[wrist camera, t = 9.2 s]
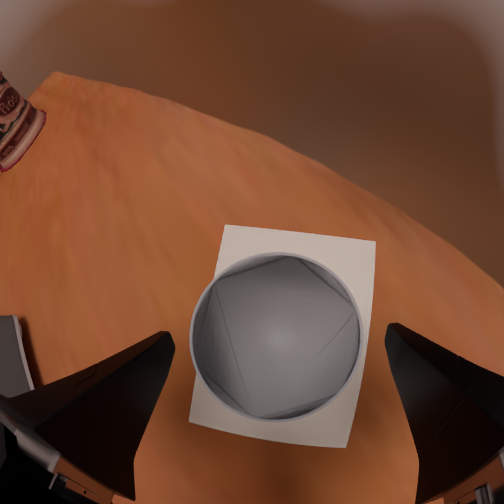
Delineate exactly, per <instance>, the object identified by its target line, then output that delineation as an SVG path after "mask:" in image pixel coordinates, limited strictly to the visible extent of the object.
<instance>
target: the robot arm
mask: <svg viewBox="0 0 504 504" xmlns="http://www.w3.org/2000/svg"><path fill="white" fill-rule="evenodd" d="M385 347H386V351H387V356H388V360H389V364H390V369H391V372H392V375H393V378H394V381H395V384H396V387H397V389H398V392H399V395H400V398H401V401H402V404H403V407H404V410H405V413H406V416H407V419H408V423H409V426H410V429H411V433H412V436H413V439H414V443H415V446H416V450H417V453H418V458H419V475H418V485H417V493H416V500H415V504H426V503H429V502H431V501H434V500H437V499H440V498H442V497H443V499H444V504H504V377H503V376H501V375H499V374H496V373H494V372H492V371H489V370H487V369H485V368H483V367H480V366H478V365H476V364H474V363H472V362H470V361H468V360H466V359H464V358H462V357H461V356H457V355H456V354H455V353H453V352H451V351H449V350H447V349H445V348H444V347H442V346H440V345H438V344H436V343H434V342H433V341H431V340H429V339H427V338H425V337H423V336H422V335H420V334H418V333H416V332H414V331H412V330H411V329H409V328H407V327H405V326H403V325H401V324H399V323H390V324H389V325H388V327H387V331H386V335H385ZM174 353H175V344H174V341H173V339H172V336H171V334H170V332H168V331H160V332H158V333H156V334H154V335H152V336H150V337H148V338H146V339H144V340H142V341H140V342H138V343H136V344H134V345H133V346H131V347H129V348H127V349H125V350H123V351H121V352H119V353H117V354H115V355H113V356H111V357H109V358H107V359H105V360H103V361H101V362H99V363H98V364H97V363H96V364H94V365H92V366H90V367H88V368H86V369H84V370H82V371H79V372H77V373H75V374H72V375H70V376H67V377H65V378H62V379H60V380H57V381H54V382H52V383H49V384H47V385H44V386H41V387H39V388H36V389H33V390H31V391H28V392H25V393H23V394H20V395H17V396H14V397H10V398H9V397H5V396H4V395H2V394H0V413H1V414H2V415H3V416H4V417H5V418H6V419H7V420H8V421H9V422H10V423H11V424H12V425H13V426H14V427H15V428H16V431H15V432H14V433H12V432H11V431H10V430H9V429H8V428H7V427H6V426H5V425H4V424H3V423H1V422H0V504H113V503H112V498H113V496H114V494H116V495H119V496H121V497H124V498H126V499H129V500H132V501H135V498H136V497H135V483H134V457H135V454H136V451H137V449H138V446H139V444H140V441H141V439H142V436H143V434H144V432H145V429H146V427H147V424H148V422H149V419H150V417H151V415H152V412H153V410H154V407H155V405H156V403H157V400H158V398H159V396H160V393H161V391H162V388H163V386H164V384H165V381H166V379H167V376H168V373H169V370H170V367H171V363H172V360H173V356H174Z"/></svg>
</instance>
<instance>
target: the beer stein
mask: <svg viewBox="0 0 504 504" xmlns="http://www.w3.org/2000/svg"><path fill="white" fill-rule="evenodd" d="M45 120H46V113H45V112H44V111H43V110H41V111H39V110H37V109H35V108H34V107H33V106H32V105H31V103H30V101H26V100H24V98H23V97H22V96H21V95H20V94H19V92H18V91H17V90H15V89H14V88H13V87H12V86H11V85H10V83H9V82H8V81H7V80H6V79H5V78H4V77H3V75H2V72H1V71H0V168H1V170H0V171H6V170H8V169H9V168H11V167H12V166H13V165H14V164H15V163H17V162H18V161H19V159H20V158H21V157H22V156H23V154H24V153H25V152H26V151H27V150H28V148H29V147H30V145H31V144H32V143H33V141H34V140H35V138H36V136H37V135H38V133H39V132H40V130H41V129H42V127H43V125H44V123H45Z"/></svg>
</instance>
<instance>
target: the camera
mask: <svg viewBox="0 0 504 504" xmlns="http://www.w3.org/2000/svg"><path fill="white" fill-rule="evenodd" d="M33 389H34V386H33V383H32V379H31V376H30V372H29V369H28V365H27V361H26V357H25V353H24V349H23V344H22V329H21V325H20V324H19V323H18V319H17V316H16V315H9V316H0V394H2V395H4V396H5V397H9V398H10V397H14V396H17V395H20V394H23V393H25V392H28V391H31V390H33ZM0 422H1V423H3V424H4V425H5V426H6V427H7V428H8V429H9V430H10V431H11V432H12V433H14V432H15V431H16V428H15V427H14V426H13V425H12V424H11V423H10V422H9V421H8V420H7V419H6V418H5V417H4V416H3V415H2V414H1V413H0Z"/></svg>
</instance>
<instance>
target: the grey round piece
mask: <svg viewBox="0 0 504 504" xmlns="http://www.w3.org/2000/svg"><path fill="white" fill-rule="evenodd" d="M189 341H190V352H191V357H192V361H193V364H194V367H195V370H196V372H197V374H198V376H199V378H200V380H201V382H202V383H203V385H204V386H205V388H206V389H207V390H208V391H209V393H210V394H211V395H212V396H213V397H214V398H215V399H216V400H217V401H218V402H220V403H221V404H222V405H223V406H225V407H226V408H228V409H229V410H231V411H233V412H235V413H237V414H239V415H241V416H243V417H246V418H249V419H252V420H257V421H262V422H276V423H278V422H289V421H293V420H298V419H302V418H304V417H307V416H310V415H312V414H314V413H316V412H318V411H320V410H322V409H323V408H325V407H326V406H327V405H329V404H330V403H332V402H333V401H334V400H335V399H336V398H337V397H338V396H339V395H340V394H341V393H342V392H343V390H344V389H345V388H346V387H347V385H348V384H349V382H350V381H351V379H352V377H353V376H354V374H355V371H356V369H357V367H358V364H359V361H360V357H361V354H362V347H363V325H362V319H361V315H360V311H359V308H358V306H357V303H356V301H355V299H354V297H353V295H352V294H351V292H350V290H349V289H348V287H347V286H346V285H345V284H344V282H343V281H342V280H341V279H340V278H339V277H338V276H337V275H336V274H335V273H334V272H333V271H331V270H330V269H329V268H327V267H326V266H324V265H323V264H321V263H319V262H317V261H315V260H313V259H310V258H308V257H305V256H302V255H298V254H294V253H286V252H269V253H261V254H257V255H253V256H249V257H247V258H245V259H242V260H240V261H238V262H236V263H234V264H232V265H230V266H229V267H227V268H226V269H225V270H223V271H222V272H221V273H220V274H219V275H217V276H216V277H215V278H214V279H213V280H212V281H211V283H210V284H209V285H208V286H207V287H206V289H205V290H204V292H203V293H202V295H201V297H200V298H199V301H198V303H197V305H196V307H195V310H194V313H193V316H192V320H191V325H190V336H189Z"/></svg>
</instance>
